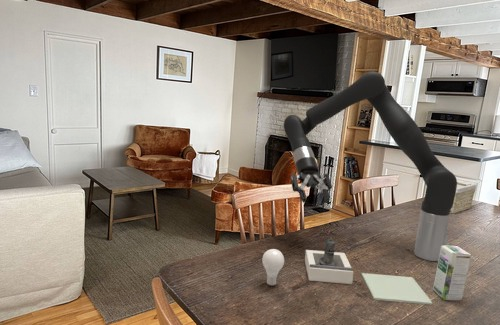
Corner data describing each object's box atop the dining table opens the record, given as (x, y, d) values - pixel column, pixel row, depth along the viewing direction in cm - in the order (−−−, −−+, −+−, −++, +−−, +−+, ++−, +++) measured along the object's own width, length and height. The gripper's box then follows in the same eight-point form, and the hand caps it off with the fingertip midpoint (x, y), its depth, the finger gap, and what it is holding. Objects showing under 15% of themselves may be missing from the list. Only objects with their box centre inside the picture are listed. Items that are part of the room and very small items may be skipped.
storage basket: (453, 215, 180) (457, 188, 177) (422, 206, 193) (426, 180, 190) (473, 209, 194) (478, 183, 191) (443, 201, 207) (448, 177, 204)
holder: (343, 264, 118) (344, 250, 117) (351, 284, 105) (353, 269, 104) (304, 260, 119) (306, 247, 118) (308, 280, 106) (310, 265, 105)
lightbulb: (284, 282, 104) (287, 247, 102) (279, 292, 98) (282, 256, 96) (264, 277, 106) (266, 243, 104) (257, 287, 100) (260, 252, 98)
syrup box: (431, 289, 105) (439, 244, 102) (450, 290, 106) (458, 245, 103) (443, 300, 99) (452, 253, 97) (463, 300, 100) (472, 254, 97)
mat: (412, 279, 111) (412, 277, 111) (432, 304, 97) (432, 302, 97) (361, 274, 111) (361, 273, 111) (374, 299, 98) (374, 297, 98)
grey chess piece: (336, 277, 109) (341, 241, 106) (317, 274, 110) (321, 239, 107) (335, 269, 114) (340, 234, 112) (317, 266, 115) (321, 232, 113)
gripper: (290, 155, 123) (301, 196, 114) (326, 156, 127) (339, 195, 118) (283, 167, 129) (293, 206, 120) (318, 167, 133) (329, 205, 124)
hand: (316, 201), depth 119 cm, fingers open, 8 cm apart
